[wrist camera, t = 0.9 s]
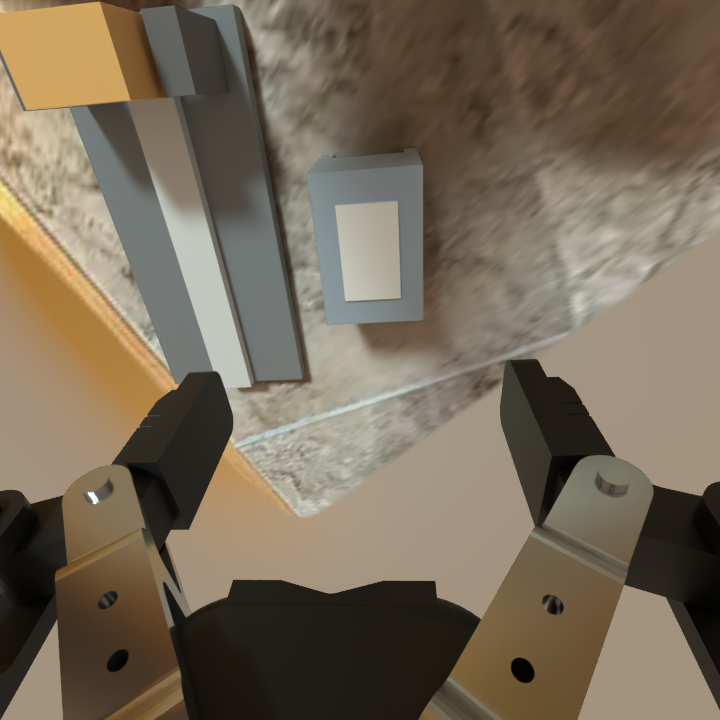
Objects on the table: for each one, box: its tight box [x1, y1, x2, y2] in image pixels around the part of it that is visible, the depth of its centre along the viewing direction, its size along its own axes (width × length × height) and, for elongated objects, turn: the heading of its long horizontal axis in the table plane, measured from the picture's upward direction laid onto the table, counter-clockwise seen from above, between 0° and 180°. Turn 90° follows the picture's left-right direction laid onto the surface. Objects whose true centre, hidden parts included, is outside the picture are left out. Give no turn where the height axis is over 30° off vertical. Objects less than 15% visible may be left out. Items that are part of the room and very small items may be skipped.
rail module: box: [307, 148, 423, 325], centre depth 24 cm, size 8×5×6 cm
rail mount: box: [0, 4, 305, 388], centre depth 25 cm, size 22×10×6 cm, turn 5°
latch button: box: [0, 2, 170, 110], centre depth 18 cm, size 3×4×4 cm
